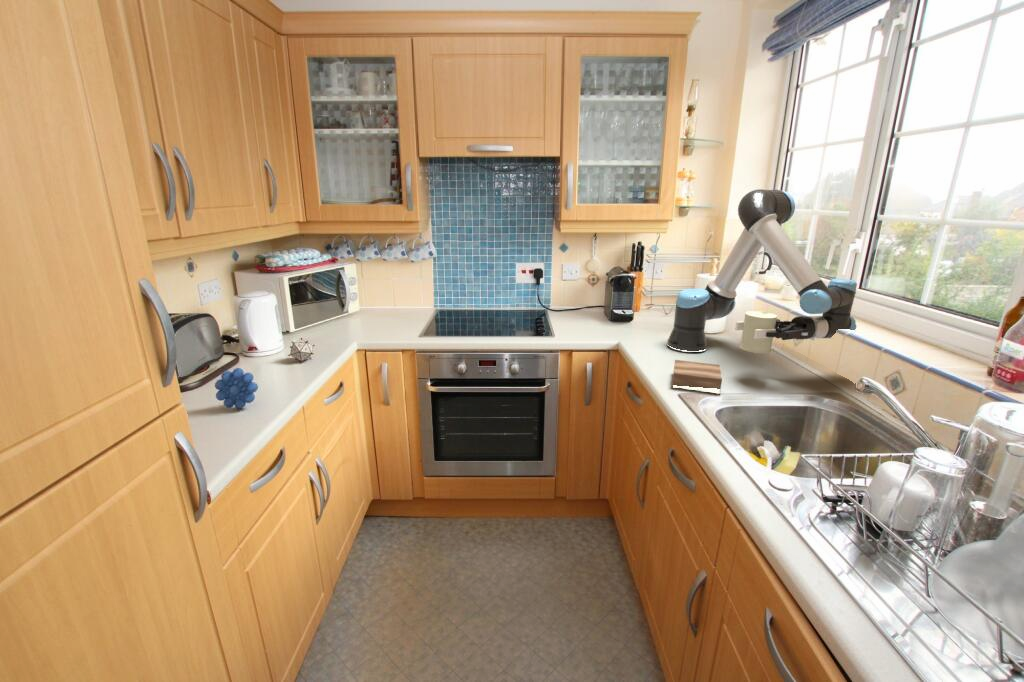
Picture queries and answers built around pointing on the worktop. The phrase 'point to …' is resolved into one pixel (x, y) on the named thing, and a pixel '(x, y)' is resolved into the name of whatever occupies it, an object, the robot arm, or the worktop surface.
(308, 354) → the grey spiked polyhedron
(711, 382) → the walnut block
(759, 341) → the can
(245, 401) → the blue knobbed ball
